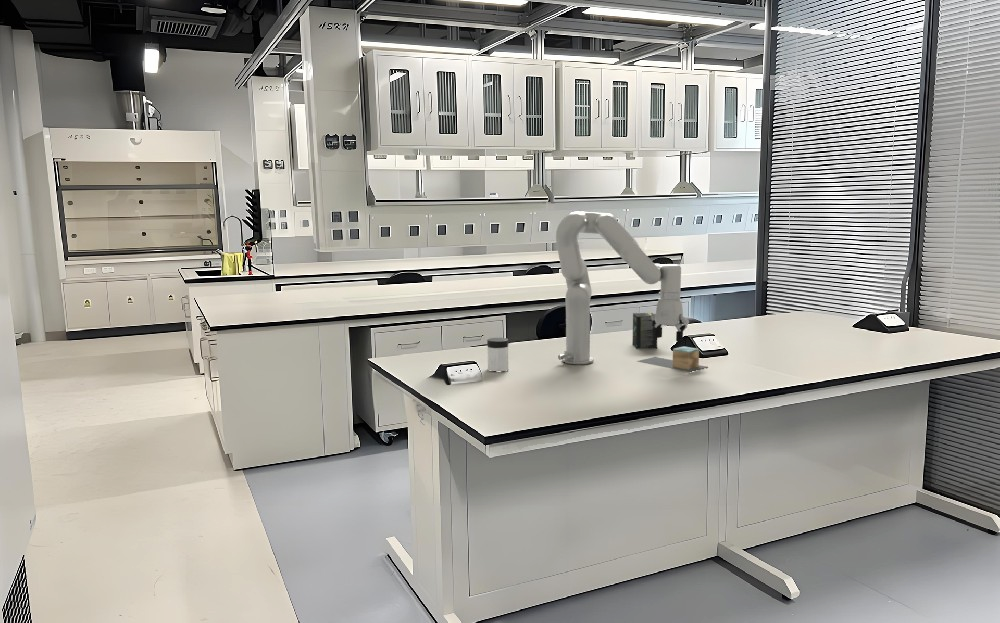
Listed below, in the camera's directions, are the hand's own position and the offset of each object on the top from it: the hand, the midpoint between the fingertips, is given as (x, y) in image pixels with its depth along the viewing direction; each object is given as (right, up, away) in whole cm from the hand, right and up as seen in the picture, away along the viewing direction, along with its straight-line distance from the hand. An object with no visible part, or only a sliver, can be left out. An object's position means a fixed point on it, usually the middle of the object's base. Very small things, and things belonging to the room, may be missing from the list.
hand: (668, 339), depth 273 cm
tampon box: (-2, -5, +36) cm, 37 cm away
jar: (-67, -12, -4) cm, 68 cm away
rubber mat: (+1, -10, 0) cm, 10 cm away
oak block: (+5, -4, -6) cm, 8 cm away
